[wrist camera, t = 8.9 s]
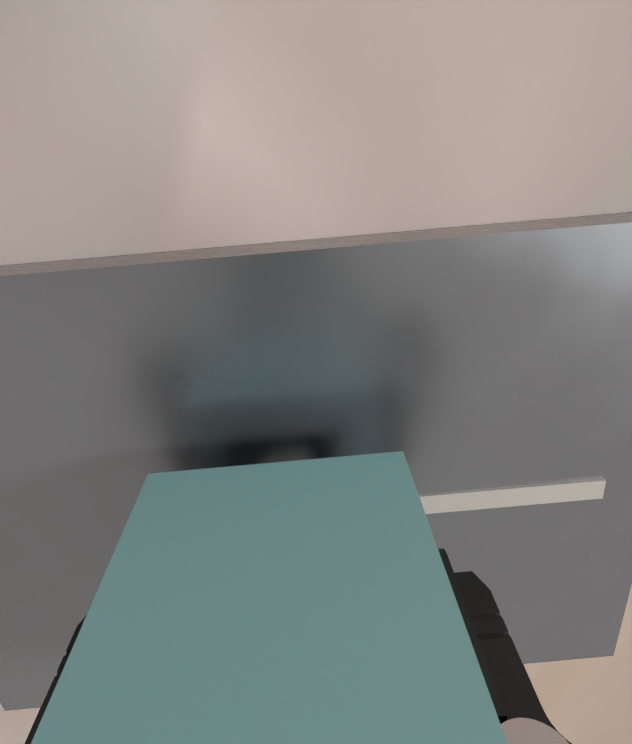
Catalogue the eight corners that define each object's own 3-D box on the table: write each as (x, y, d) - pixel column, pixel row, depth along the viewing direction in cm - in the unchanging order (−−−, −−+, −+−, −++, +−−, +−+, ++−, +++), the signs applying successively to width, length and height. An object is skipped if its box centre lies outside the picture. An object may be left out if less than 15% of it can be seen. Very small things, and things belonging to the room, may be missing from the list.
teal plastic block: (148, 473, 11) (-27, 875, 5) (403, 450, 11) (535, 822, 5) (193, 646, 13) (112, 1062, 7) (404, 628, 13) (494, 1025, 7)
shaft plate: (22, 675, 18) (-91, 898, 12) (-171, 280, 12) (-539, 390, 6) (593, 624, 18) (718, 824, 12) (685, 207, 12) (992, 259, 7)
